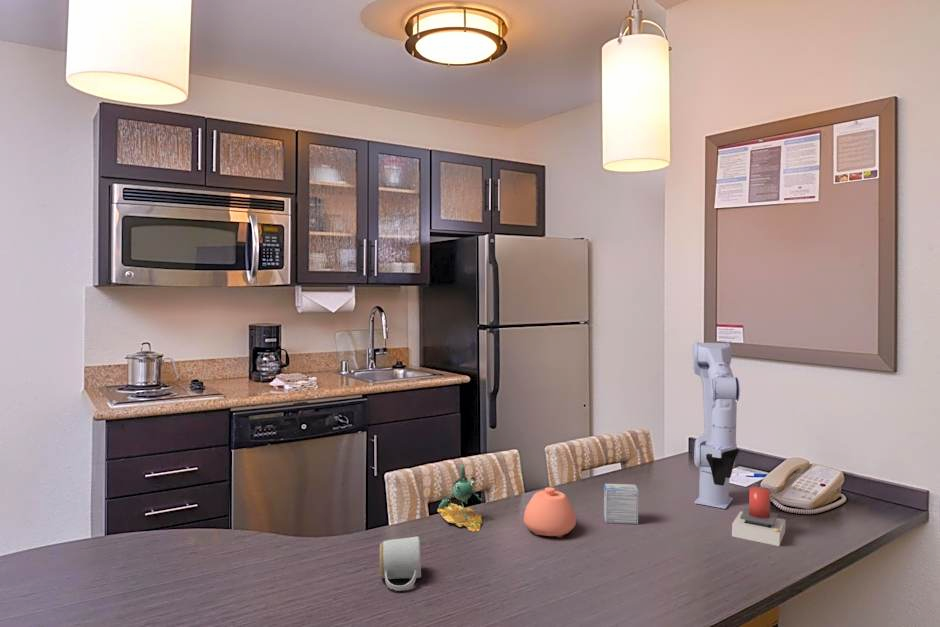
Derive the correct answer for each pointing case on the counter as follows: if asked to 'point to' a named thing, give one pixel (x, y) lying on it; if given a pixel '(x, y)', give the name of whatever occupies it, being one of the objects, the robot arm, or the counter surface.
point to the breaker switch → (759, 519)
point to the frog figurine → (459, 513)
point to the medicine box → (621, 503)
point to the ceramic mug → (400, 561)
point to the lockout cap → (759, 502)
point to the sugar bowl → (549, 513)
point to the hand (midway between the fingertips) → (722, 480)
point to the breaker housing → (759, 531)
